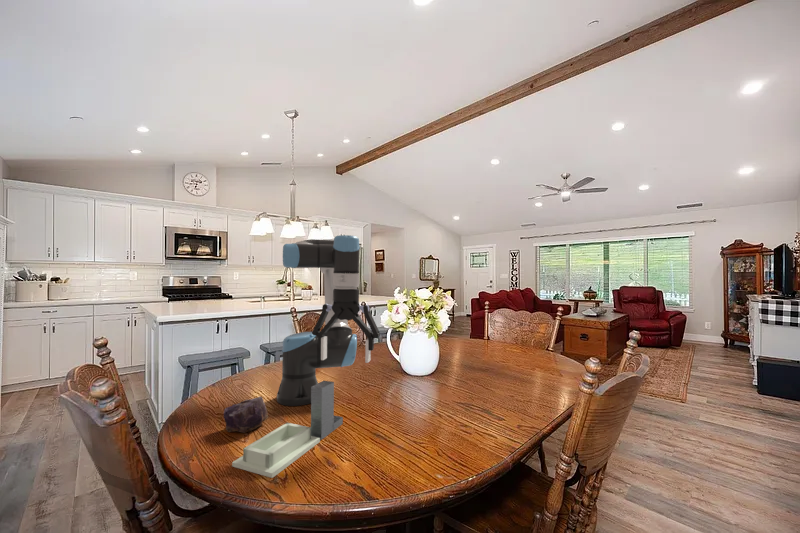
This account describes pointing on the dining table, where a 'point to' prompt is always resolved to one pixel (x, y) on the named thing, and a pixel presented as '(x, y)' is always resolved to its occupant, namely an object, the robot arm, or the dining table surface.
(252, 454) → the rectangular frame
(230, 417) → the rock
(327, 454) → the dining table surface
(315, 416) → the grey l-shaped block
